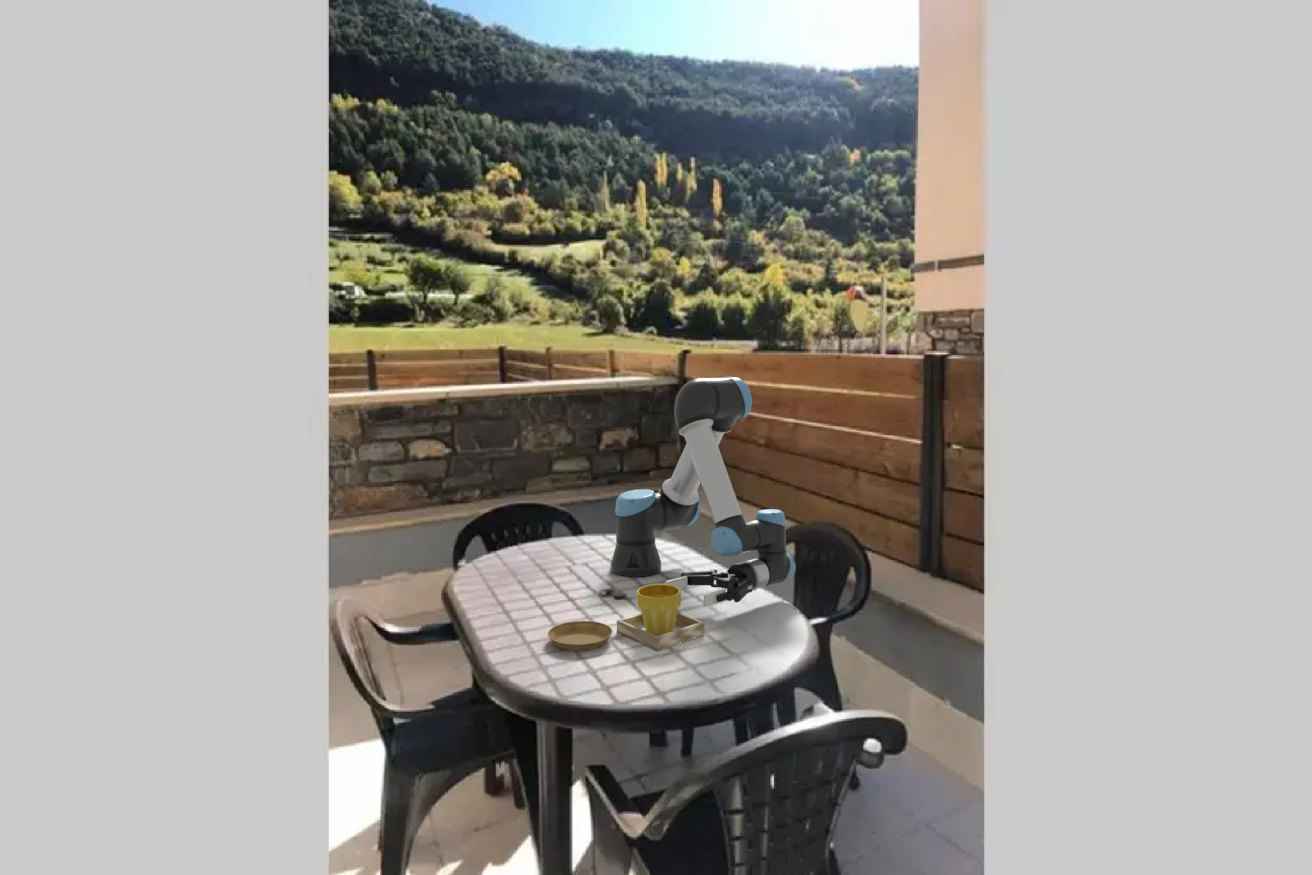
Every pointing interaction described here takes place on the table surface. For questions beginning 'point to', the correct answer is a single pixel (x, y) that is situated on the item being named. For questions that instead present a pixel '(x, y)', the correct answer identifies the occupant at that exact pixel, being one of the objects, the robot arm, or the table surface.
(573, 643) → the plant saucer
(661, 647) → the tray
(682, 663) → the table surface
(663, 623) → the plant pot
